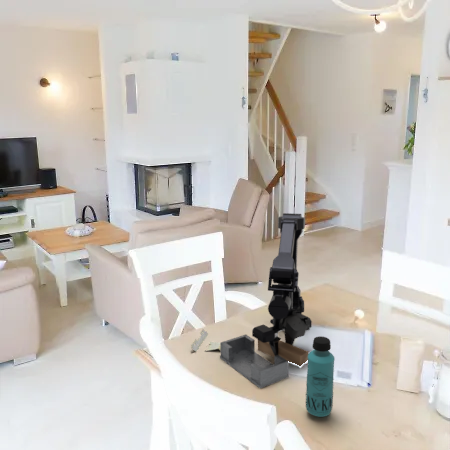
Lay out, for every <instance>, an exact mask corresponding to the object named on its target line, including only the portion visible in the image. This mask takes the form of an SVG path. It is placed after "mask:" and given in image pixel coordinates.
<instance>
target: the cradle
mask: <svg viewBox="0 0 450 450" xmlns="http://www.w3.org/2000/svg"><path fill="white" fill-rule="evenodd" d="M255 341H256V340H255V338H252V337H251V336H249V335H248V334H242V335H240V336H237V337H234V338H230V339H227V340H224V341H222V342H221V343H220V346H221V351H220V355H219V358H220V359H221V360H222V361H224V363H226V364H227V365H229V367H231V368H232V369H234V370H235V371H237V372H238V374H240V375H242V376H243V377H244V378H245V379H246V380H248V381H250V382H251V383H252V384H253V385H255V386H256V387H257V388H259V389H263V388H265V387H268V386H271V385H273V384H275V383H278V382H280V381H282V380H286V379H288V378H290V375H289V363H288V361H287V360H286V359H284V358H282V357H281V356H279V355H275V356H274V357H273V358H274V359H273V361H274V363H272V362H271V361H269V360H268V359H267V358H264V356H262V355H260V354H259V353H257V352H256V351H255V349H256V348H255V347H256V346H255V345H256V344H255Z"/></svg>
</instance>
